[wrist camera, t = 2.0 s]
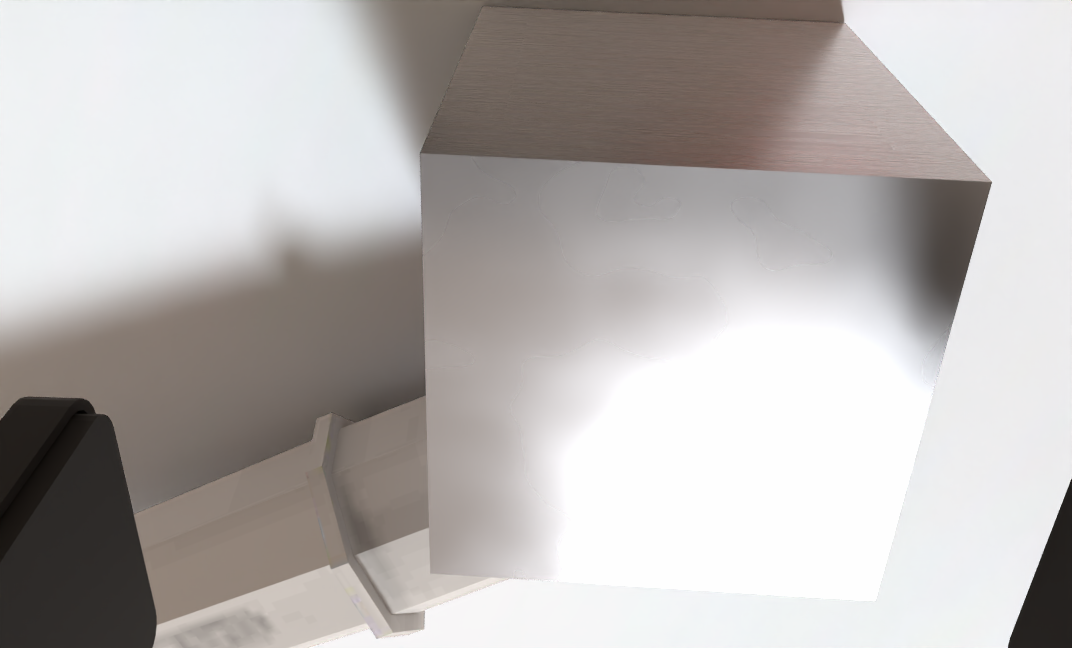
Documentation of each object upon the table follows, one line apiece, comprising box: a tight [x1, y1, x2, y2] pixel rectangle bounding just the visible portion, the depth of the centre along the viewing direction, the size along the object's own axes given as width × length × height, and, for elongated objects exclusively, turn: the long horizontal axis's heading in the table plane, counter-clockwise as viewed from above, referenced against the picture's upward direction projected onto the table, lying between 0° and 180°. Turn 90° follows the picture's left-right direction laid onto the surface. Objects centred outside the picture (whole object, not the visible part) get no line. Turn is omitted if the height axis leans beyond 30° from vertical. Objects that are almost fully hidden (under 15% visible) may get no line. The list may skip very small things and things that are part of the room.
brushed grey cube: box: [420, 6, 992, 601], centre depth 15 cm, size 6×6×7 cm
